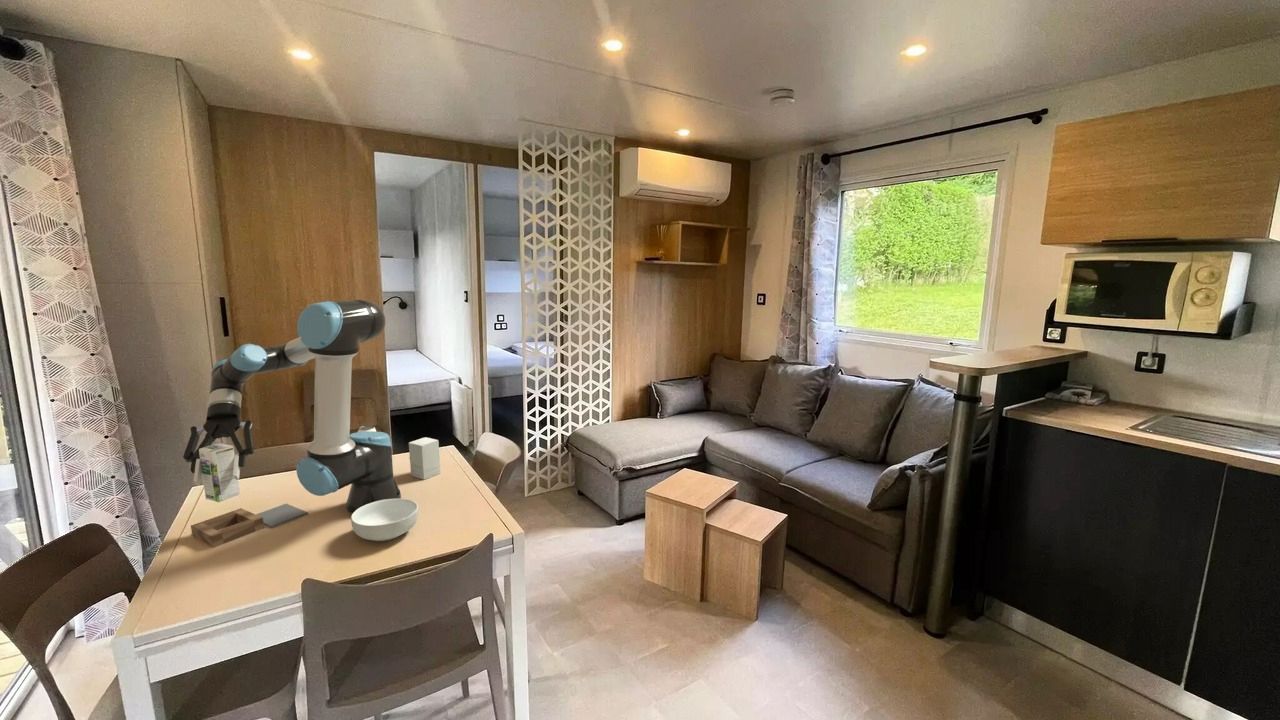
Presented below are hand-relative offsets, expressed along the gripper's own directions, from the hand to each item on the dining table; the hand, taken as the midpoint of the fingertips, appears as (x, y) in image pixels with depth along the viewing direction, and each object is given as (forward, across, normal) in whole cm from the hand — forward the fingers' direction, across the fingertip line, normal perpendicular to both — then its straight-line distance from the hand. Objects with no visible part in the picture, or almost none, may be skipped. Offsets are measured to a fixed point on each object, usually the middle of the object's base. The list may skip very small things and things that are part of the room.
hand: (216, 480), depth 138 cm
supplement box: (-5, -53, -29) cm, 60 cm away
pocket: (+9, 0, -14) cm, 17 cm away
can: (-25, -34, -49) cm, 65 cm away
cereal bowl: (+24, -40, 0) cm, 46 cm away
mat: (+6, -11, -18) cm, 22 cm away
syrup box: (+2, 0, -7) cm, 7 cm away
